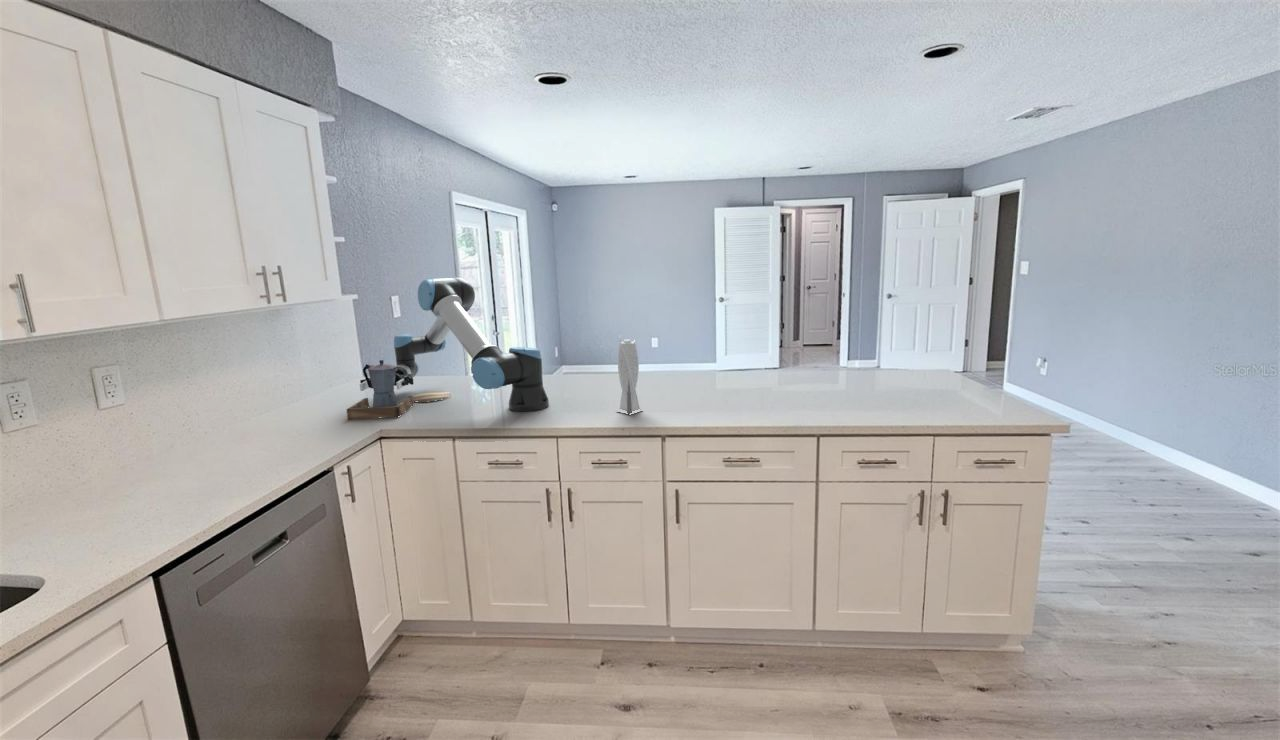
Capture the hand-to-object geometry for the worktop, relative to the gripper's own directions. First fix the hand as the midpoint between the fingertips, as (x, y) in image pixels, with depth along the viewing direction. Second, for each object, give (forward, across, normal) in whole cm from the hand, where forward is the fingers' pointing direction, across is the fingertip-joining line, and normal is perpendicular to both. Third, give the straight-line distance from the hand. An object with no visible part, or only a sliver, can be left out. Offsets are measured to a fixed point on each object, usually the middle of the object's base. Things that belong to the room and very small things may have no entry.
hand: (379, 386), depth 215 cm
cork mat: (-19, -13, -10) cm, 25 cm away
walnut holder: (+1, 0, -10) cm, 10 cm away
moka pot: (-1, 0, -10) cm, 10 cm away
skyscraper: (+15, -94, -10) cm, 96 cm away
